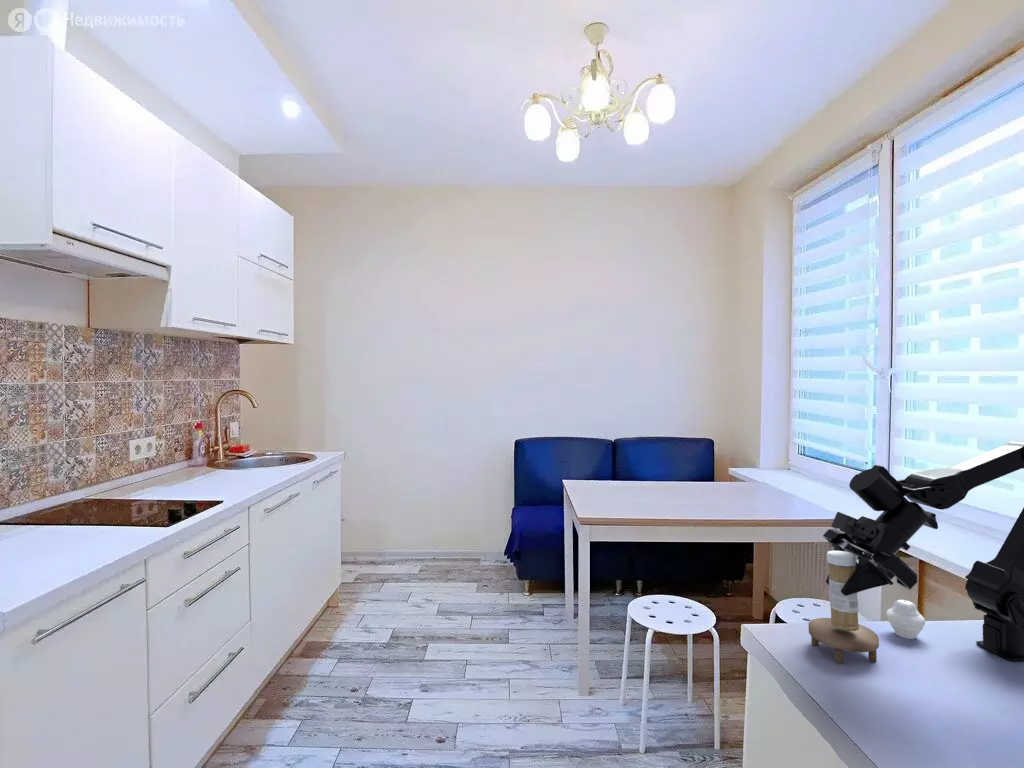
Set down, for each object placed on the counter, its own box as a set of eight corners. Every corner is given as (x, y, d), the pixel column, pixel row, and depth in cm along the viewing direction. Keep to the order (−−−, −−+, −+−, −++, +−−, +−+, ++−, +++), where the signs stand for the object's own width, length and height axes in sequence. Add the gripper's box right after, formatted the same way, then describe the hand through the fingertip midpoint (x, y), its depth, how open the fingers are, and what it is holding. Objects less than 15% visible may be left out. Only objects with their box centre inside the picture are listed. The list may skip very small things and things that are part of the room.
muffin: (919, 646, 98) (918, 608, 98) (881, 634, 103) (881, 598, 103) (930, 636, 102) (929, 600, 102) (893, 625, 107) (892, 591, 107)
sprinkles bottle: (847, 621, 98) (843, 549, 99) (866, 631, 94) (861, 555, 95) (824, 623, 98) (821, 550, 99) (842, 632, 93) (838, 556, 94)
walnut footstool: (849, 636, 102) (848, 616, 102) (894, 666, 91) (894, 643, 91) (796, 639, 101) (795, 619, 101) (835, 670, 90) (835, 646, 90)
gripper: (831, 488, 106) (778, 543, 106) (897, 509, 87) (833, 576, 87) (871, 526, 105) (818, 581, 105) (946, 555, 87) (882, 623, 87)
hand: (835, 588), depth 96 cm, fingers closed on sprinkles bottle, 4 cm apart
